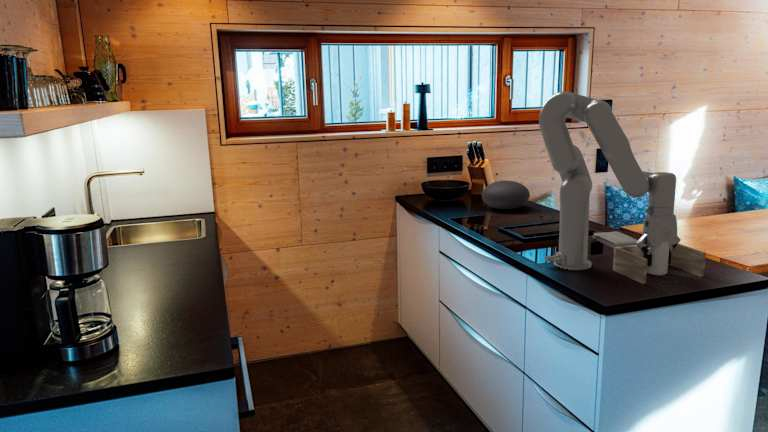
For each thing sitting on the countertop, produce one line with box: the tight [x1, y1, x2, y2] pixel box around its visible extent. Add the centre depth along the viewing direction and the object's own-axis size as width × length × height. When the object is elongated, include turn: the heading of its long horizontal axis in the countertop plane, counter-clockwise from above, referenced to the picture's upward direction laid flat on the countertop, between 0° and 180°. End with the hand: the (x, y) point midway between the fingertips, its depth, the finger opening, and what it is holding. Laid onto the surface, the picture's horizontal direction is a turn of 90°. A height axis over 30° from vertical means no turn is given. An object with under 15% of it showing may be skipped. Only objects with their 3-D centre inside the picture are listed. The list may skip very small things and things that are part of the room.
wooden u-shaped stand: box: [612, 242, 707, 285], centre depth 182 cm, size 22×15×8 cm
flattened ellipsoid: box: [481, 179, 531, 210], centre depth 291 cm, size 25×25×15 cm
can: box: [647, 242, 669, 277], centre depth 182 cm, size 6×6×12 cm
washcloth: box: [591, 230, 639, 249], centre depth 222 cm, size 12×18×3 cm, turn 10°
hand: (656, 263), depth 183 cm, fingers closed on can, 6 cm apart
